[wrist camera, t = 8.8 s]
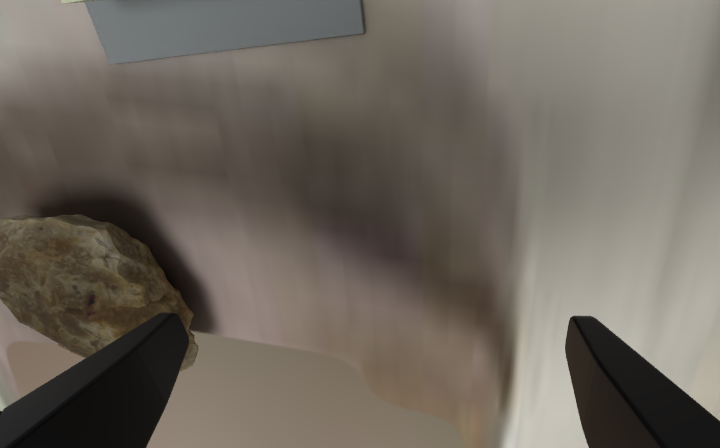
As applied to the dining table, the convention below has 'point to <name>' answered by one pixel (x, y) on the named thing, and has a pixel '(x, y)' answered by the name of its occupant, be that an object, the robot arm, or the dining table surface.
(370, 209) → the dining table surface
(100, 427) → the robot arm
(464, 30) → the dining table surface
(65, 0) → the base block
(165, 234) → the dining table surface
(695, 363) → the dining table surface
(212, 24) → the build mat
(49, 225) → the stone
